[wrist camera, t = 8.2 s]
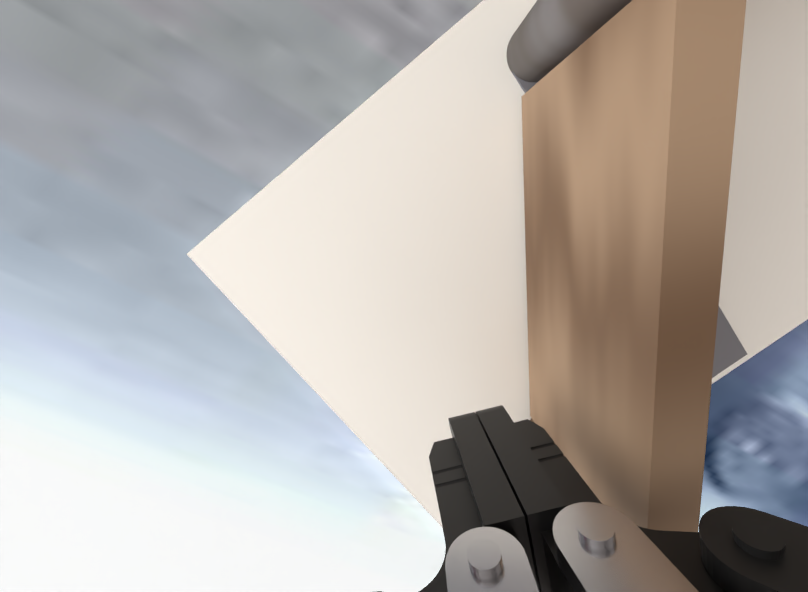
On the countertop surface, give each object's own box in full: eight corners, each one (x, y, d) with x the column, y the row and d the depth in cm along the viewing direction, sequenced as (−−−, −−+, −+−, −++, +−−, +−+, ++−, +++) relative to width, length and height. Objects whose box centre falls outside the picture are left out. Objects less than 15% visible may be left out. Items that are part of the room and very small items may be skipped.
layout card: (793, -261, 10) (815, -286, 9) (970, 197, 13) (993, 196, 12) (193, 252, 12) (185, 254, 12) (462, 542, 15) (465, 553, 15)
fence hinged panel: (517, 96, 11) (695, -61, 5) (558, 92, 11) (789, -70, 5) (528, 443, 13) (651, 644, 7) (560, 439, 13) (711, 635, 7)
